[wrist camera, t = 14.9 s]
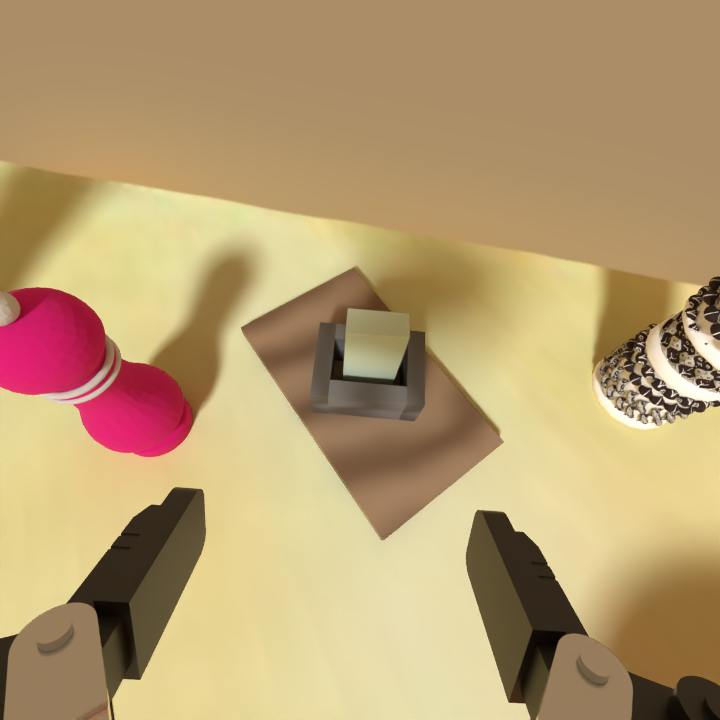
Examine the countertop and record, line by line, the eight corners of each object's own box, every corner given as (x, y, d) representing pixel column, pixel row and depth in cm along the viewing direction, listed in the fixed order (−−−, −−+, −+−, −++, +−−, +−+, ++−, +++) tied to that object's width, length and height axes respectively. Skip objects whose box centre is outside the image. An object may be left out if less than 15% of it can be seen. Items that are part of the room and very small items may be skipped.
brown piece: (381, 540, 32) (391, 539, 27) (243, 334, 40) (229, 302, 35) (497, 445, 37) (526, 428, 31) (352, 276, 44) (355, 239, 39)
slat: (342, 390, 37) (345, 332, 27) (343, 371, 37) (347, 308, 28) (389, 393, 37) (409, 337, 27) (389, 374, 38) (409, 313, 28)
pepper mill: (203, 449, 35) (65, 346, 17) (117, 473, 33) (-130, 387, 16) (193, 379, 38) (67, 226, 20) (114, 398, 36) (-97, 252, 18)
